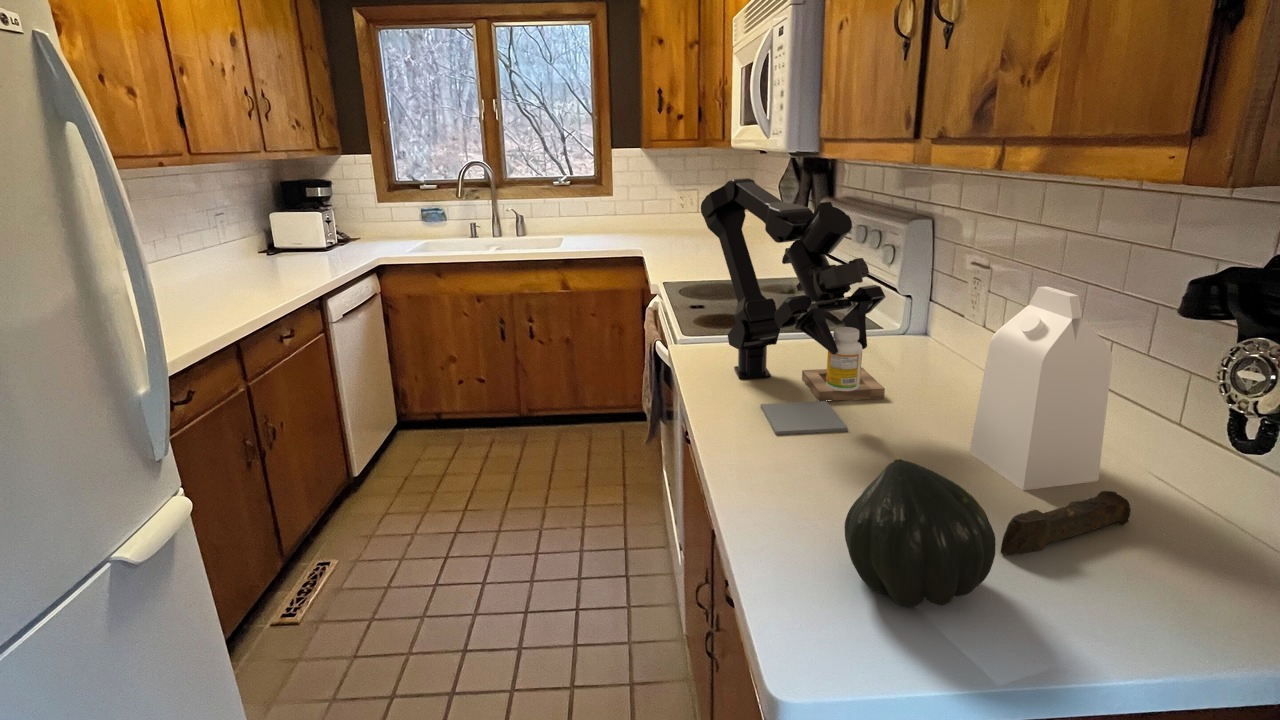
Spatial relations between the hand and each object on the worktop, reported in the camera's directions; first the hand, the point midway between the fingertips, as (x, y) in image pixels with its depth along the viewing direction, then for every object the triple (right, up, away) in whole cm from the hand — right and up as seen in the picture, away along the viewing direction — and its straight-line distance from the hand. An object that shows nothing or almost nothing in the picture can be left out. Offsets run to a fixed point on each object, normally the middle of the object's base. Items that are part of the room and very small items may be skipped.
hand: (850, 350), depth 112 cm
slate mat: (-6, -12, +8) cm, 15 cm away
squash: (-4, -26, -36) cm, 44 cm away
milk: (+23, -17, -11) cm, 31 cm away
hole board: (+5, -7, +21) cm, 22 cm away
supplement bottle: (0, -6, +3) cm, 7 cm away
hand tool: (+17, -23, -28) cm, 41 cm away
